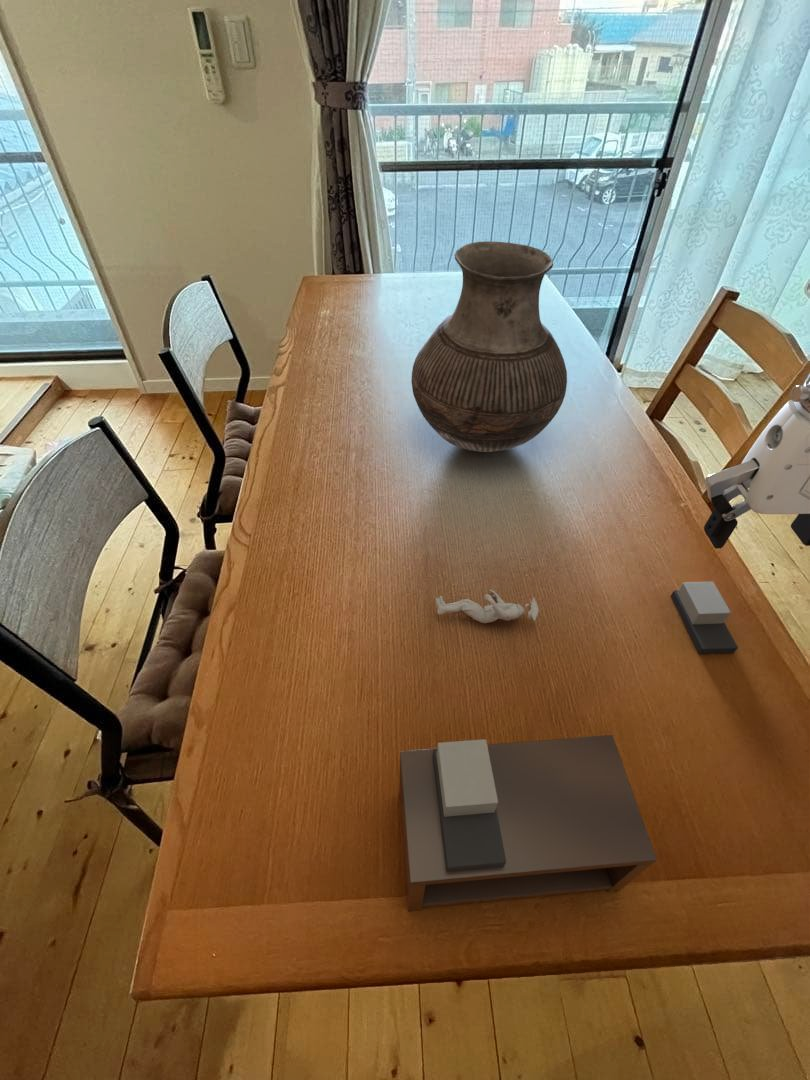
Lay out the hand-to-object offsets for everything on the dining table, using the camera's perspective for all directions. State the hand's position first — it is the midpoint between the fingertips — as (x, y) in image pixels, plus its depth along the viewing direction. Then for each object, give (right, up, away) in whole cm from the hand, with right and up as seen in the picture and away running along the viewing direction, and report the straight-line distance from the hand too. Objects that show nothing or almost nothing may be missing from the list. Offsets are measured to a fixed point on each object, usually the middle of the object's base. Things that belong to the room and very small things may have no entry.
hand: (756, 537), depth 59 cm
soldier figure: (-28, -10, +11) cm, 32 cm away
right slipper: (0, -11, +11) cm, 15 cm away
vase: (-24, +17, +38) cm, 48 cm away
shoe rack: (-28, -29, -7) cm, 41 cm away
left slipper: (-33, -22, -14) cm, 42 cm away
